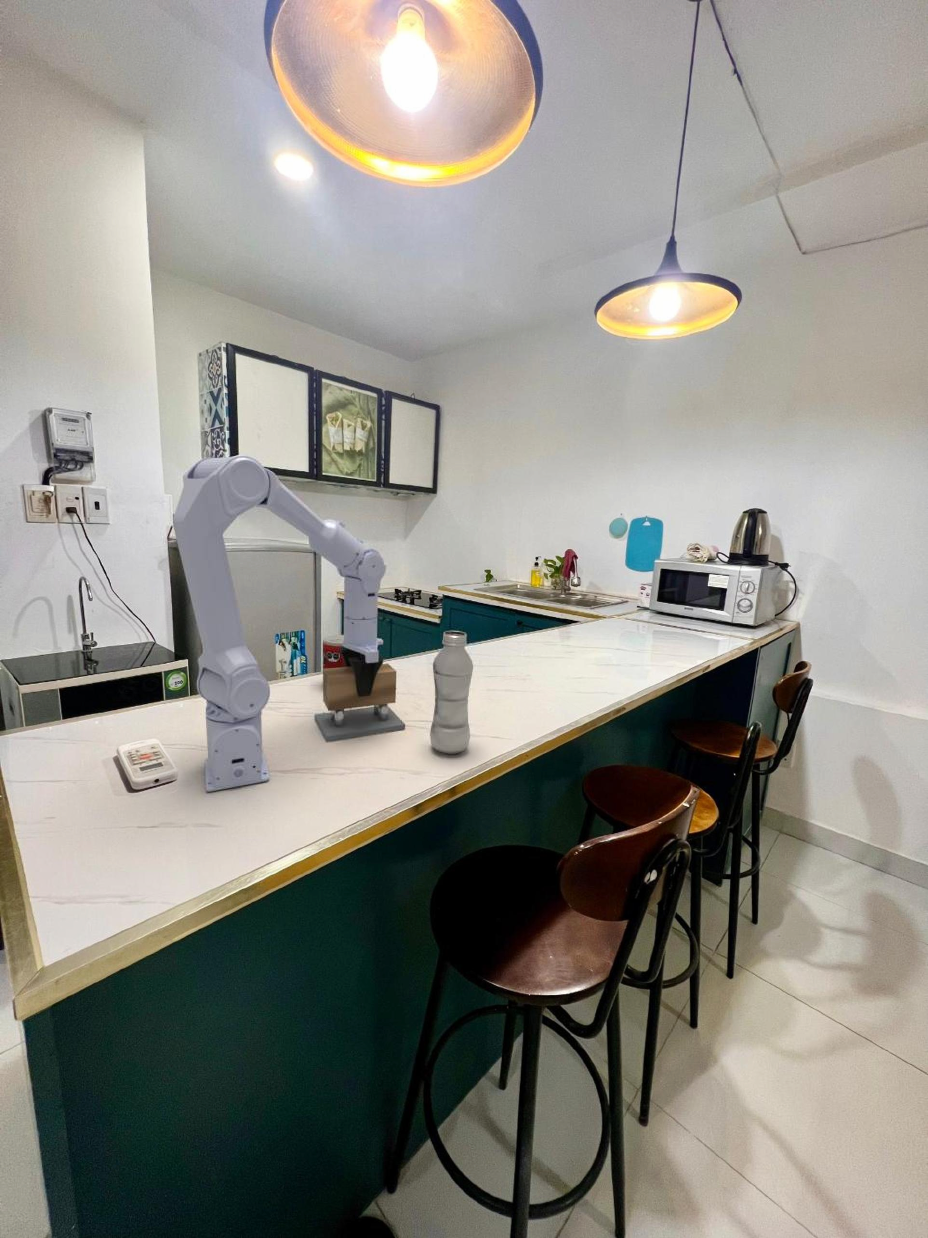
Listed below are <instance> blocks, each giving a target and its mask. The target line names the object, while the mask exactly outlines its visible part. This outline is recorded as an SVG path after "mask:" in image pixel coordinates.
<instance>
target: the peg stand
mask: <svg viewBox="0 0 928 1238" xmlns="http://www.w3.org/2000/svg"><path fill="white" fill-rule="evenodd" d="M314 721H315V723H316V724H317V727H318V729H319V730H320V732H321V734H322V736H323V738H324V740H325V742H326V743H328V742H329V743H330V742H336V741H342V740H347V739H348V740H349V739H354V738H361V737H367V736H372V735H373V736H374V735H379V734H385V733H393V732H398V731H404V730H406V724H405V722H403V720H401V718H400V717H399V716H398V715H397V714H396V713H395V712H394V710H392V709H391V708H390V706H389V705H388V704H381V705H373V706H366V707H359V708H351V709H341V710H333V711H329V712H324V713H316V714H314Z"/></svg>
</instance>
